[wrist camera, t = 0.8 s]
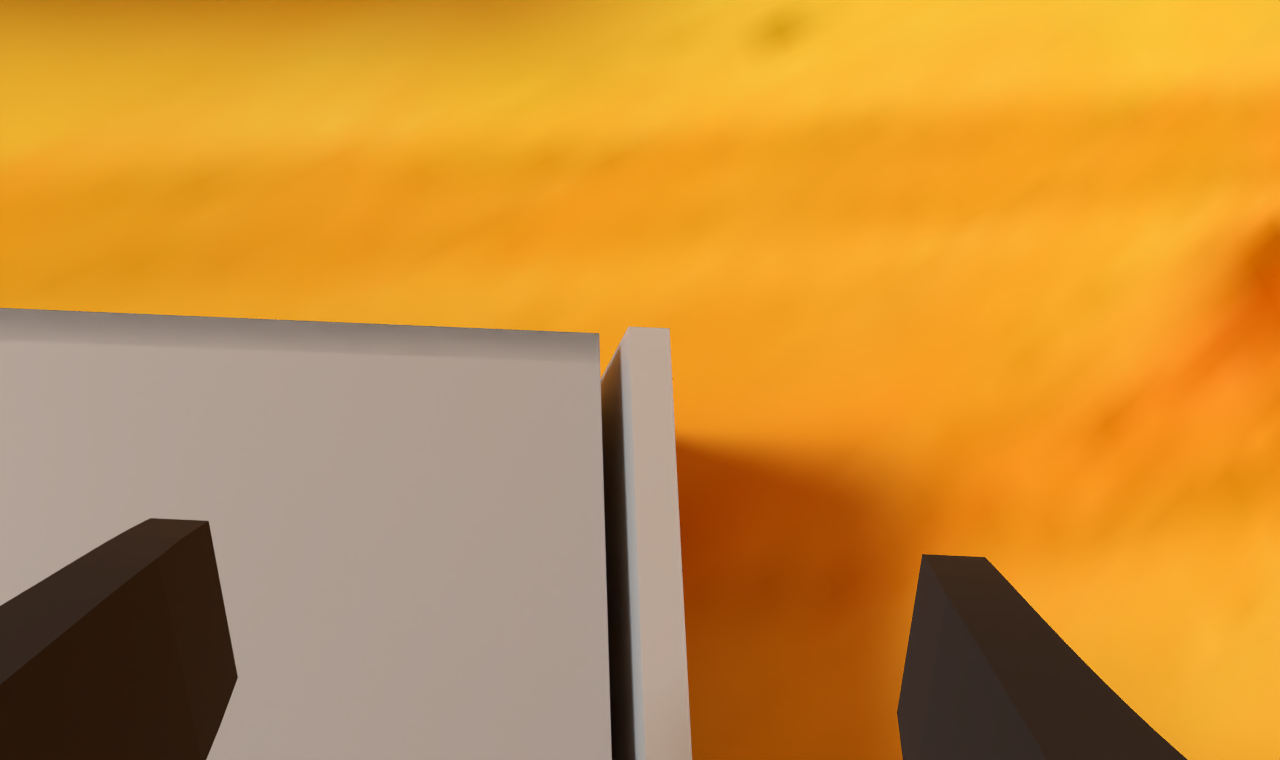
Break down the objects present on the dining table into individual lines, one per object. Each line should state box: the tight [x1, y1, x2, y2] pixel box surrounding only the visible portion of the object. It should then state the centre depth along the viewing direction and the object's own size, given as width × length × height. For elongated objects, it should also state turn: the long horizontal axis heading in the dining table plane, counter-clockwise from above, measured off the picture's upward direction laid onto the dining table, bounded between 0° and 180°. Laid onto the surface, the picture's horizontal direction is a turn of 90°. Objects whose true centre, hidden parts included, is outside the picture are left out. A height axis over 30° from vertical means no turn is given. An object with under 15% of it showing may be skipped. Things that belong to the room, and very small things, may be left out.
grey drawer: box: [600, 327, 692, 760], centre depth 20 cm, size 15×3×9 cm, turn 2°
